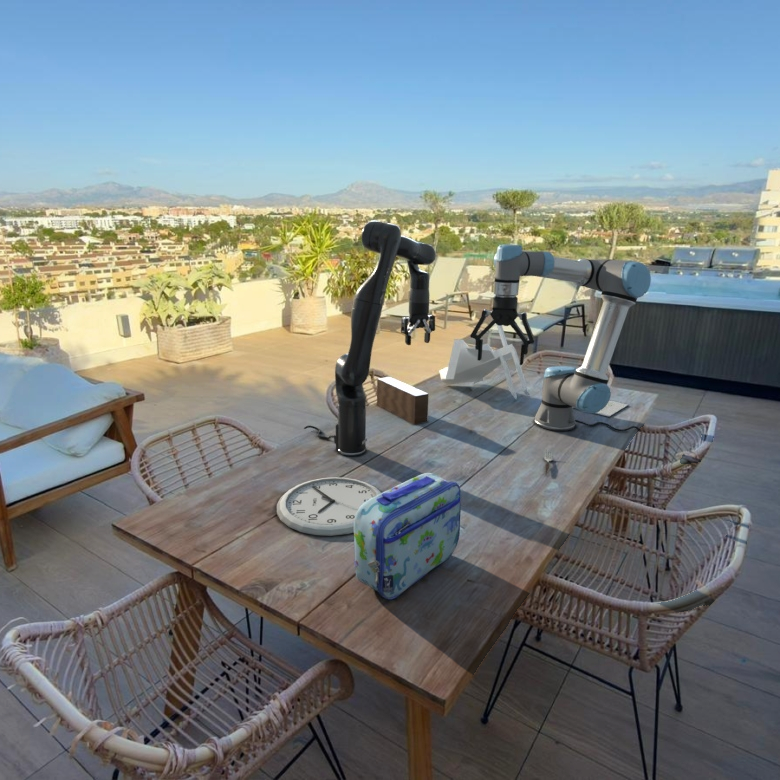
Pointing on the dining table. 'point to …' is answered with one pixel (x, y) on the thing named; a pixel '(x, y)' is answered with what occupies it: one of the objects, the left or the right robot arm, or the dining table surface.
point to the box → (402, 400)
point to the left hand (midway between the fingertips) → (417, 343)
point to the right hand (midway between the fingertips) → (500, 361)
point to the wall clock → (324, 505)
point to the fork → (548, 460)
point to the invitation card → (611, 408)
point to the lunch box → (406, 533)
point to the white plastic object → (481, 363)
